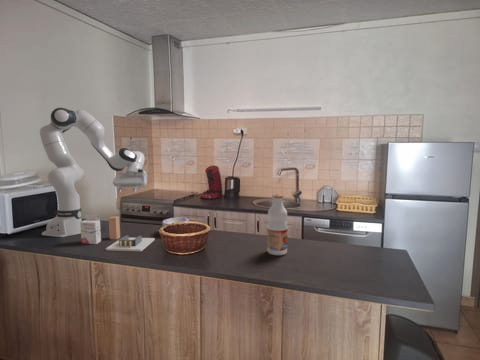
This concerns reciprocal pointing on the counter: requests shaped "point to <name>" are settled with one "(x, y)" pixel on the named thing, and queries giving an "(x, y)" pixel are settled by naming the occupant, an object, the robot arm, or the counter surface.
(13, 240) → the counter surface
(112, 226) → the tall tan rectangular block
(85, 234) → the ink cartridge box
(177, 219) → the paper bowls
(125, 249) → the cartridge dock
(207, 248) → the counter surface
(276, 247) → the fruit juice
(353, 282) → the counter surface
